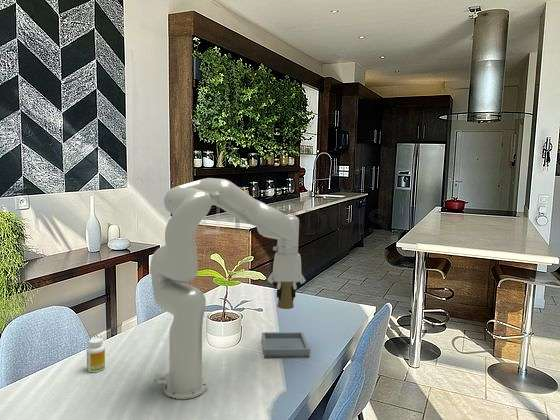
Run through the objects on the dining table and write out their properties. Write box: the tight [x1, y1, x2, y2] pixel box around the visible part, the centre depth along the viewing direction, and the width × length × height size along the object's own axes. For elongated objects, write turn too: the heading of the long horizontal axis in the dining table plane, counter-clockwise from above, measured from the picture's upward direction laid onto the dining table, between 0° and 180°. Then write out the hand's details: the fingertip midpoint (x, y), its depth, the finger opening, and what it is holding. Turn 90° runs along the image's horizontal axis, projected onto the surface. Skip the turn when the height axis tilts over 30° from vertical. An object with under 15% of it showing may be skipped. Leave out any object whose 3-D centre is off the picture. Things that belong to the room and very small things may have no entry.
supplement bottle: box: [86, 337, 106, 373], centre depth 143 cm, size 5×5×10 cm
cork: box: [277, 282, 295, 310], centre depth 162 cm, size 6×6×11 cm
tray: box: [261, 331, 311, 359], centre depth 164 cm, size 16×16×3 cm
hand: (285, 298), depth 162 cm, fingers closed on cork, 4 cm apart
